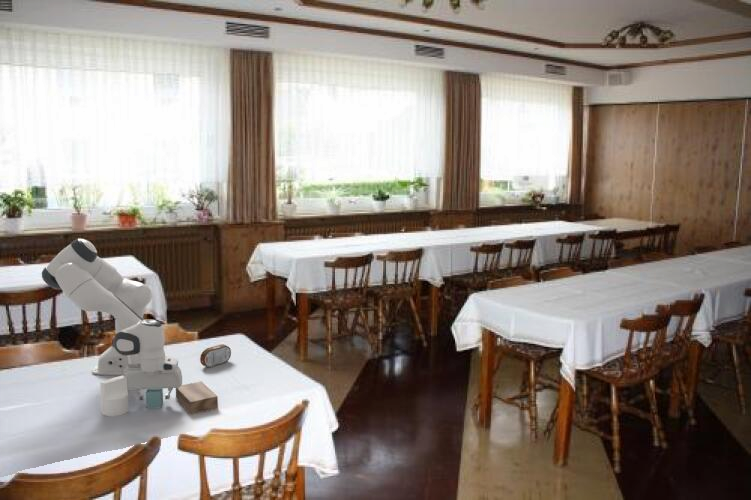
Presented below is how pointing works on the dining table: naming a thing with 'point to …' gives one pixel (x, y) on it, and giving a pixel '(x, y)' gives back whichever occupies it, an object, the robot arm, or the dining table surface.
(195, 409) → the walnut block
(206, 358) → the tin
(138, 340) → the robot arm
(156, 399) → the teal cube
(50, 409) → the dining table surface
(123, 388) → the cylinder with rectangular tab
